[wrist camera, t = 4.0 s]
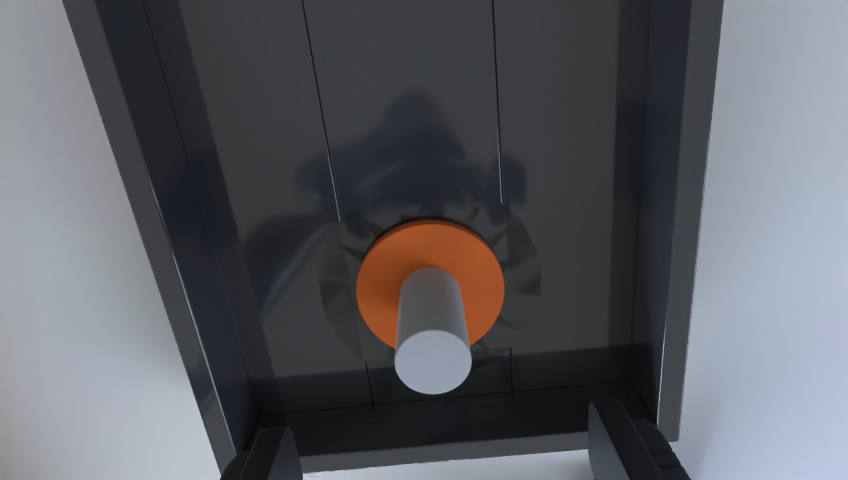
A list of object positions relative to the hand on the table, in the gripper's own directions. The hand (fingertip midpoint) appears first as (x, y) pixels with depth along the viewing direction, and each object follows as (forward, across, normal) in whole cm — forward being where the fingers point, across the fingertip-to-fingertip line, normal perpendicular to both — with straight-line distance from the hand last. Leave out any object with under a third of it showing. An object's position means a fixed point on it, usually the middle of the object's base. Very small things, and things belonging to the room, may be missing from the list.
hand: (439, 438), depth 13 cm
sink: (+12, 0, -6) cm, 13 cm away
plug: (+12, 0, 0) cm, 12 cm away
